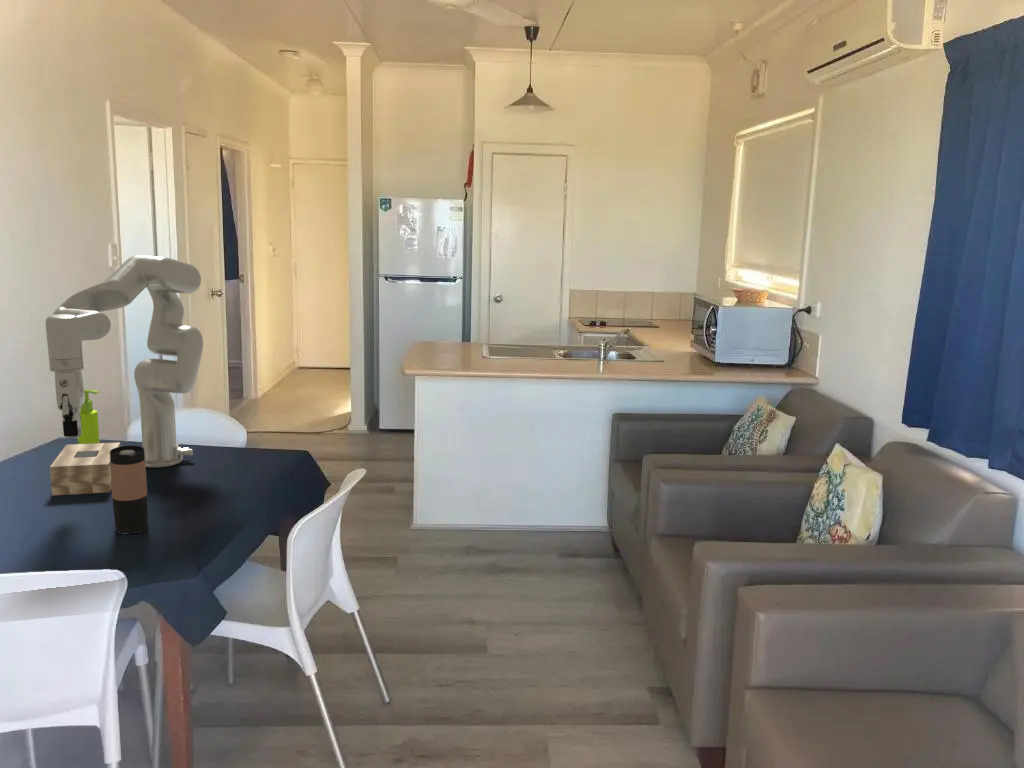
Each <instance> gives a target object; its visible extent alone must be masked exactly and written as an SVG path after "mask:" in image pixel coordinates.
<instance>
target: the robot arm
mask: <svg viewBox="0 0 1024 768" xmlns="http://www.w3.org/2000/svg"><path fill="white" fill-rule="evenodd" d="M201 276H202V275H201V273H200V271H199V269H198V268H197V267H195V266H194V265H192V264H190V263H187V262H183V261H180V260H178V259H177V260H176V259H175V258H174V259H173V258H170V257H165V256H158V255H157V256H156V255H144V254H143V255H141V254H138V255H132V256H130V257H129V258H127V259H126V260H125V261H124V262H123V263H122V264H121V265H120V266H119V267H118V268H117V269H116V270H114V272H113V273H111V274H110V276H108V277H107V278H106V279H105V280H104V281H102V282H100V283H97V284H93V285H92V286H90V287H88V288H85V289H83V290H80V291H78V292H76V293H74V294H73V295H71V296H69V297H68V298H66V299H65V300H64V301H63V302H62V303H61V304H60V305H59V306H58V307H57V308H56V309H55V311H54V312H53V313H52V315H48V316H47V317H46V319H45V334H46V342H47V352H48V363H49V371H50V372H53V373H54V383H55V384H54V385H55V397H56V406H57V409H58V411H61V418H62V429H63V437H64V436H77V435H78V426H77V420H75V409H76V410H78V409H80V408H81V406H82V405H83V403H84V402H85V393H84V390H85V389H84V386H85V385H84V381H83V373H82V370H84V358H83V357H84V356H83V346H82V345H83V344H82V342H83V341H95V340H101V339H103V338H104V337H106V336H107V335H108V334H109V332H110V330H111V326H112V324H111V320H110V318H109V317H108V316H107V315H106V314H105V313H103V312H106V311H107V312H108V311H113V310H116V309H122V308H124V307H127V306H129V305H130V304H131V303H133V301H134V300H135V299H136V298H137V296H139V295H140V294H141V293H142V291H144V290H145V289H147V291H148V293H149V294H150V296H151V300H152V306H153V309H152V316H151V320H150V325H149V330H148V334H147V343H146V346H147V348H148V350H149V352H151V353H153V354H155V355H159V356H165V357H176V360H171V359H163V358H146V359H143V360H141V361H139V362H138V363H137V365H136V366H135V367H134V372H133V373H134V375H133V376H134V381H135V386H136V388H137V389H136V390H137V393H138V398H139V409H140V411H139V412H140V413H139V414H140V428H141V430H140V431H141V441H142V443H141V444H142V445H141V447H143V448H144V453H145V468H166V467H167V468H168V467H171V466H175V465H177V464H180V463H182V461H183V460H184V459H183V458H184V457H183V456H193V453H194V452H193V449H192V448H189V447H183V448H181V446H179V443H177V425H176V407H175V402H174V399H173V396H172V394H188V393H190V392H192V390H193V389H194V387H195V385H196V382H197V379H198V375H199V370H200V363H201V359H202V354H203V347H204V339H203V335H202V333H201V330H199V328H196V327H195V326H191V325H187V324H183V320H184V314H185V309H184V305H183V302H182V301H181V299H180V297H179V296H178V294H186V295H187V294H193V293H195V292H197V290H199V287H200V286H201V284H202V283H201V282H202V277H201ZM69 408H72V409H69ZM69 411H72V414H71V413H69ZM80 420H81V415H80ZM81 429H82V427H81Z"/></svg>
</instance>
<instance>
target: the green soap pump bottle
mask: <svg viewBox="0 0 1024 768" xmlns="http://www.w3.org/2000/svg"><path fill="white" fill-rule="evenodd" d="M84 393H85V402H84V403H83V405H82V406H81V408H80V415H81V427H82V429H81V431H82V436H80V437H77V442H78V443H77V444H94V443H101V441H100V431H99V429H100V428H99V427H100V426H99V413H98V410H96V409H94V407H93V400H92V399H90V396H89V395H90V394H93V395H96V394H98V393H100V391H99V390H96V389H90V388H89V389H88V388H87V389H84Z"/></svg>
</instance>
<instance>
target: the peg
mask: <svg viewBox="0 0 1024 768" xmlns="http://www.w3.org/2000/svg"><path fill="white" fill-rule="evenodd" d="M69 409H72V408H69ZM69 413H71V414H72V411H69ZM75 420H77V426H78V435H77V436H64V435H63V437H64V438H66V439H76V438H77V439H78V437H80V436H82V431H81V420H80V409H78V410H76V409H75Z"/></svg>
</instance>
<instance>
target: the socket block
mask: <svg viewBox="0 0 1024 768" xmlns="http://www.w3.org/2000/svg"><path fill="white" fill-rule="evenodd" d="M117 447H121V442H100V443H94V444H78V443H74V444H71V443H70V444H66V445H65V446H64V447H63V449H62V450H61V451H60V453H59V454H58V456H57V457H56V458H55V459H54V461H53V462H52V464H51V465H50V466H49V473H50V474H49V475H50V484H51V485H50V486H51V495H52V496H64V495H65V496H67V495H70V496H71V495H84V494H85V495H86V494H99V493H103V494H104V493H112V483H111V465H110V451H111V450H112V449H114V448H117ZM85 451H98V454H97V456H96V457H77V458H75V456H76V455H77V453H78V452H85Z"/></svg>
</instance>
